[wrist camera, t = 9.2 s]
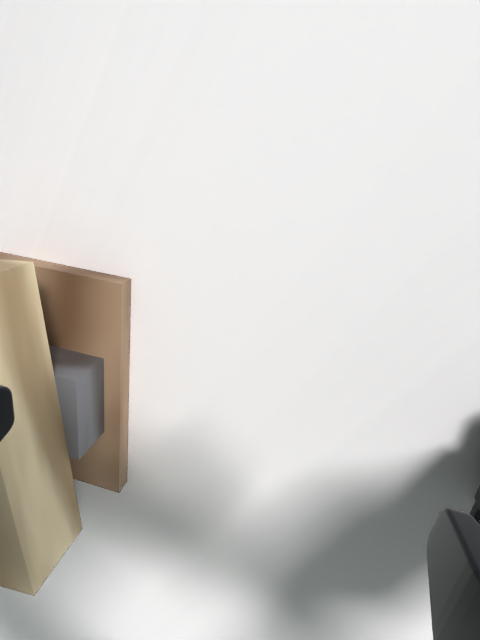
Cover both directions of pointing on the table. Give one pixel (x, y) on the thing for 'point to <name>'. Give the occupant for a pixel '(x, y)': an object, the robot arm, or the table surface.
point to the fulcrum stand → (89, 365)
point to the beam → (31, 442)
